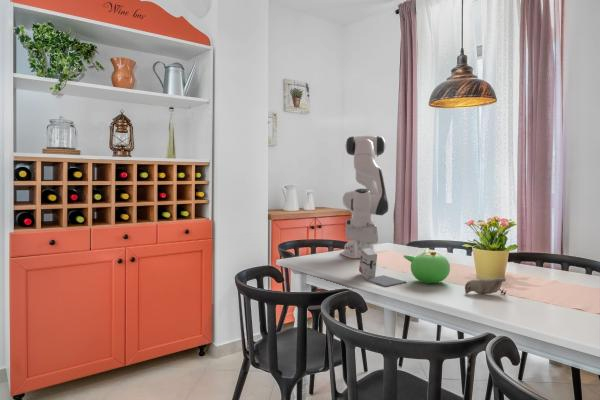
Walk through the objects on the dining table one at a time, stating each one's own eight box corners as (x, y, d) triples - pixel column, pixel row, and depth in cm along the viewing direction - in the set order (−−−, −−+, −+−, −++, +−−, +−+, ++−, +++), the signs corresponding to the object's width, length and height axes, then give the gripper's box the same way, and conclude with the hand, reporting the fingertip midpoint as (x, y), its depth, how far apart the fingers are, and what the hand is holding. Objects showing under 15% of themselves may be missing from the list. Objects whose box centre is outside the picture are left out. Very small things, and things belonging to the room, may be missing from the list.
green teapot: (430, 289, 181) (431, 255, 180) (401, 280, 195) (401, 249, 194) (457, 283, 191) (458, 251, 190) (427, 275, 205) (428, 245, 204)
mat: (363, 280, 196) (363, 278, 196) (383, 276, 203) (383, 275, 203) (385, 287, 184) (385, 285, 184) (406, 282, 192) (406, 281, 191)
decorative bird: (463, 292, 179) (463, 274, 178) (503, 293, 177) (503, 276, 176) (466, 295, 173) (467, 277, 173) (507, 297, 171) (508, 279, 171)
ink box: (358, 271, 207) (360, 248, 205) (367, 270, 209) (369, 247, 206) (365, 278, 200) (368, 254, 197) (375, 277, 201) (377, 254, 198)
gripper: (381, 224, 199) (380, 253, 200) (352, 219, 216) (352, 246, 217) (371, 224, 196) (370, 254, 196) (343, 220, 213) (342, 247, 213)
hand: (361, 250), depth 207 cm, fingers closed
